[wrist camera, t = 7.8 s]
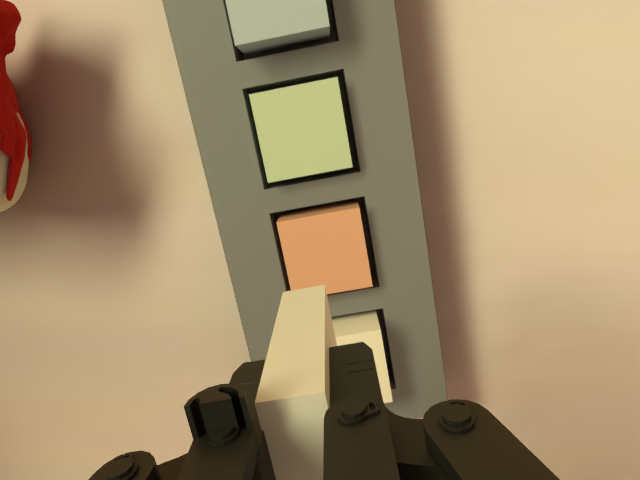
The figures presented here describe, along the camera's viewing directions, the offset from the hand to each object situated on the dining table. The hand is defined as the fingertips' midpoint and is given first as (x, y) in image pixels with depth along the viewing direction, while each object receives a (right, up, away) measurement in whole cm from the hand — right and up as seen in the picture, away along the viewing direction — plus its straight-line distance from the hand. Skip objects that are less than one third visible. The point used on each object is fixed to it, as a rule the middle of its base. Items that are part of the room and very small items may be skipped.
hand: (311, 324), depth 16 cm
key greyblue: (-2, +15, +7) cm, 16 cm away
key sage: (-1, +9, +9) cm, 13 cm away
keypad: (0, +6, +11) cm, 13 cm away
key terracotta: (+1, +3, +11) cm, 11 cm away
